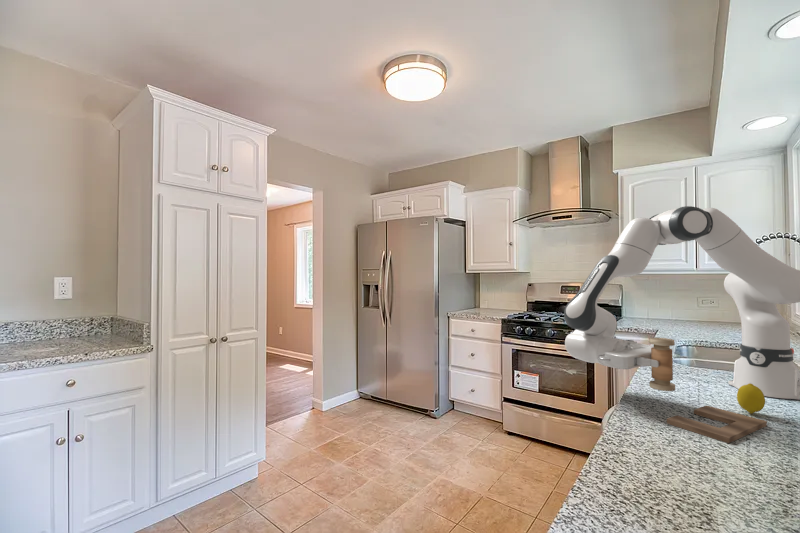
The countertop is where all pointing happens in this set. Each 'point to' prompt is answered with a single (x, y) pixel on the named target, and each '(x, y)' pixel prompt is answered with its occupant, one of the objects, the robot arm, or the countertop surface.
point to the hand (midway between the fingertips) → (665, 362)
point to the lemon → (750, 398)
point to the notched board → (729, 433)
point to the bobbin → (662, 364)
